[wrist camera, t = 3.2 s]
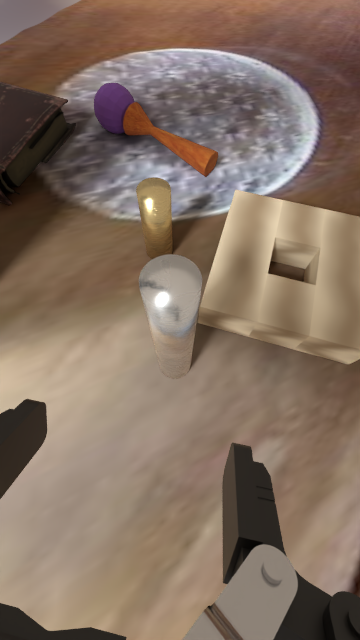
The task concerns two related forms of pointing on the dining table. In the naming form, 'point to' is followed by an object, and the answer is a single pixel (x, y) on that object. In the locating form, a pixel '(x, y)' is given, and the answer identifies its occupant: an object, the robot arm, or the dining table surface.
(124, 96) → the purple maraca
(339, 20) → the dining table surface
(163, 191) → the short pin
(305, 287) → the hole plate
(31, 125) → the diary
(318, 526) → the dining table surface
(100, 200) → the dining table surface
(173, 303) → the long pin
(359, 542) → the dining table surface
